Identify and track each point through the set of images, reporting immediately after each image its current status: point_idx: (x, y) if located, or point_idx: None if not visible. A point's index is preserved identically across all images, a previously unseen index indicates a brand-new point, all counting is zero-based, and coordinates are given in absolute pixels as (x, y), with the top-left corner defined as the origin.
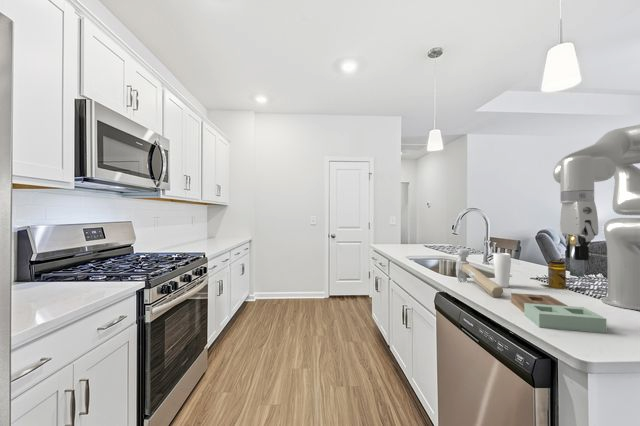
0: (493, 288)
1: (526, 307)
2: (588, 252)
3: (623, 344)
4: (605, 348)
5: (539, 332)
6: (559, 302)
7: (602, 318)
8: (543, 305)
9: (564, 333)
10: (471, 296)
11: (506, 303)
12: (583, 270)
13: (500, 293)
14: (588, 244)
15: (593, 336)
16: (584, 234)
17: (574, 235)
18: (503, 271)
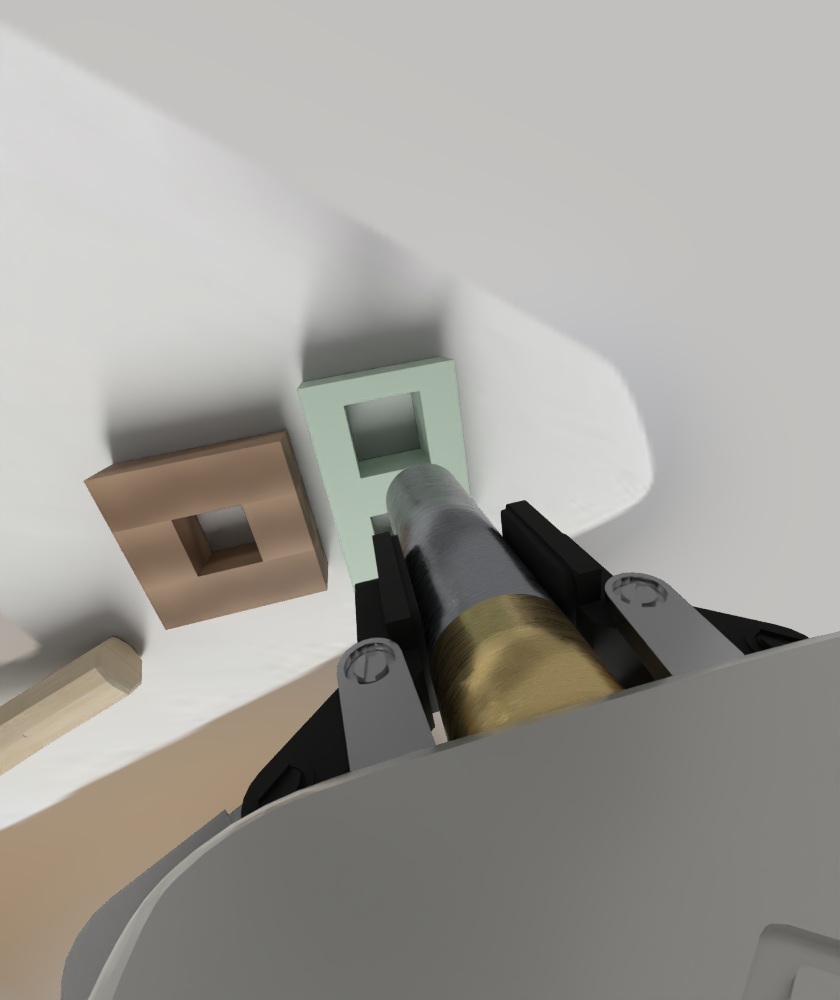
0: (130, 692)
1: None
2: (561, 532)
3: (530, 348)
4: (576, 415)
5: None
6: (230, 462)
7: (455, 373)
8: (357, 540)
9: (492, 488)
10: (185, 718)
11: None
12: (462, 488)
13: (114, 649)
14: (671, 599)
15: (489, 412)
16: (476, 737)
17: None
18: None
